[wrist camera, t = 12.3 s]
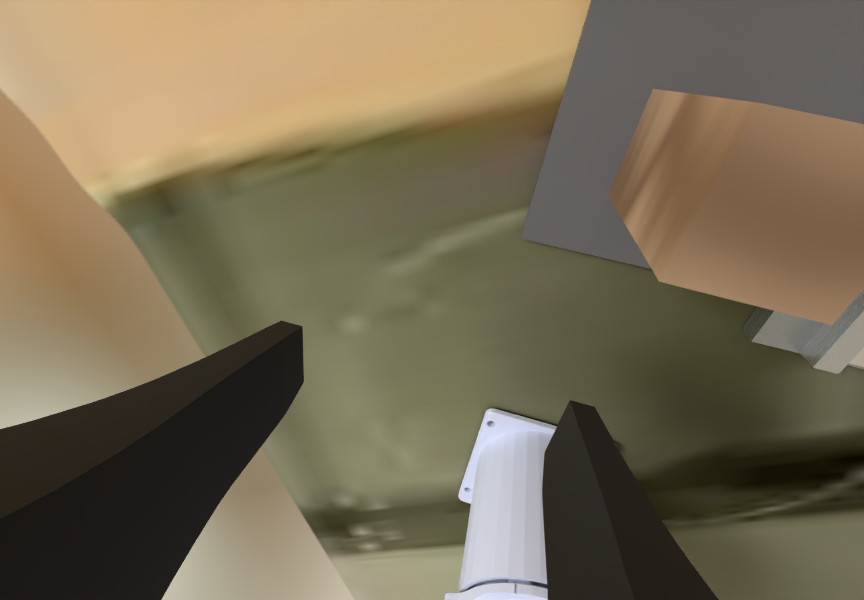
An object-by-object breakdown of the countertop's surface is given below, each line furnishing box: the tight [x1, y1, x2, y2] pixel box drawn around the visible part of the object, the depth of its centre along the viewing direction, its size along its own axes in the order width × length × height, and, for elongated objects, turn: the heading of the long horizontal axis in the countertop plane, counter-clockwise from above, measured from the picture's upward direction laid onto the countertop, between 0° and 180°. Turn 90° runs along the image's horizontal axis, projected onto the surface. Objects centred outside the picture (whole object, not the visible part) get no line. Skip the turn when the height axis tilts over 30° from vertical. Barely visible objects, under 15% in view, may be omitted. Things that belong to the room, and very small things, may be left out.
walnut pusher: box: [608, 89, 864, 325], centre depth 12 cm, size 4×4×8 cm
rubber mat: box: [521, 0, 864, 269], centre depth 15 cm, size 10×10×1 cm
